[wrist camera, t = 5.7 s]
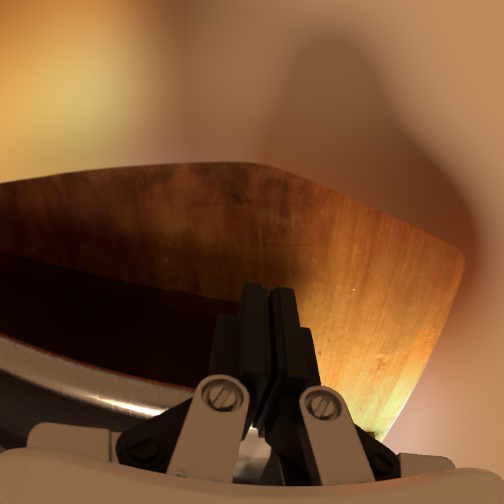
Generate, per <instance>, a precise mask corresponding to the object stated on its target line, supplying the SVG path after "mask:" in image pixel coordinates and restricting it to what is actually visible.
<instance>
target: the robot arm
mask: <svg viewBox="0 0 504 504" xmlns="http://www.w3.org/2000/svg"><path fill="white" fill-rule="evenodd" d="M252 422H253V428H254V429H258V438H265V442H266V443H267V444H268V445H269V446H271V449H270V450H271V458H272V463H273V468H274V473H275V477H276V482H277V486H259V485H244V484H232V480H233V475H234V471H235V466H236V462H237V457H238V453H239V448H240V444H241V442H242V441H243V440H245V438H246V435H247V433H248V431H249V429H250V426H251V424H252ZM0 504H504V480H503V479H502V478H501V477H500V476H498V475H497V474H495V473H493V472H490V471H487V470H483V469H477V468H457V469H456V468H455V466H454V464H453V463H452V461H451V460H449V459H448V458H446V457H442V456H429V455H418V454H408V453H399V454H398V455H395V453H393V452H392V451H391V450H390V449H389V448H387V447H386V446H385V445H383V444H382V443H380V442H379V441H378V440H376V439H375V438H373V437H372V436H371V435H369V434H368V433H367V432H365V431H364V430H362V429H361V428H360V427H358V426H357V425H356V424H354V423H353V420H352V418H351V415H350V413H349V410H348V408H347V405H346V403H345V401H344V399H343V397H342V396H341V395H340V394H339V393H338V392H336V391H335V390H333V389H331V388H329V387H326V386H321V381H320V376H319V371H318V365H317V360H316V355H315V349H314V344H313V339H312V334H311V330H310V329H309V328H305V327H300V322H299V316H298V310H297V304H296V298H295V293H294V289H291V288H286V287H280V286H278V287H277V288H276V290H273V289H271V291H270V293H269V297H268V295H267V288H262V284H261V283H257V282H251V281H246V282H245V285H244V289H243V293H242V297H241V301H240V305H239V310H238V314H237V317H233V316H227V315H221V314H218V317H217V322H216V327H215V332H214V338H213V344H212V351H211V358H210V366H209V373H208V377H206V378H204V379H203V380H202V381H200V383H199V384H198V386H197V388H196V391H195V394H194V396H193V397H191V398H189V399H187V400H185V401H183V402H182V403H180V404H178V405H176V406H174V407H172V408H170V409H168V410H166V411H164V412H162V413H160V414H158V415H156V416H154V417H152V418H150V419H148V420H146V421H144V422H142V423H140V424H138V425H136V426H134V427H131V428H129V429H127V430H126V431H124V432H110V429H104V428H93V427H83V426H74V425H66V424H59V423H52V422H42V423H39V424H37V425H35V426H34V427H33V428H32V429H31V430H30V433H29V435H28V440H27V447H23V448H15V449H10V450H6V451H4V452H2V453H0Z"/></svg>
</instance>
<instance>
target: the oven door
mask: <svg viewBox="0 0 504 504" xmlns="http://www.w3.org/2000/svg"><path fill="white" fill-rule="evenodd" d="M239 305H240V303H236V302H230V301H225V300H219V299H213V298H208V297H202V296H197V295H191V294H186V293H181V292H176V291H171V290H166V289H161V288H156V287H151V286H146V285H141V284H136V283H131V282H127V281H122V280H118V279H113V278H108V277H104V276H100V275H95V274H91V273H86V272H82V271H78V270H74V269H70V268H65V267H61V266H57V265H53V264H49V263H45V262H41V261H37V260H33V259H30V258H26V257H22V256H18V255H14V254H11V253H7V252H3V251H0V453H2V452H4V451H6V450H10V449H15V448H23V447H27V440H28V435H29V433H30V430H31V429H32V428H33V427H34V426H35V425H37V424H39V423H42V422H52V423H59V424H66V425H74V426H83V427H93V428H104V429H110V432H124V431H126V430H127V429H129V428H131V427H134V426H136V425H138V424H140V423H142V422H144V421H146V420H148V419H150V418H152V417H154V416H156V415H158V414H160V413H162V412H164V411H166V410H168V409H170V408H172V407H174V406H176V405H178V404H180V403H182V402H183V401H185V400H187V399H189V398H191V397H193V396H194V394H195V391H196V388H197V386H198V384H199V383H200V381H202V380H203V379H204V378H206V377H208V373H209V366H210V358H211V351H212V344H213V338H214V332H215V327H216V322H217V317H218V314H221V315H227V316H233V317H237V314H238V310H239ZM270 449H271V446H269V445H268V444H267V443H266V442H265V438H258V429H254V428H253V422H252V424H251V426H250V429H249V431H248V433H247V435H246V438H245V440H243V441H242V442H241V444H240V448H239V453H238V457H237V462H236V466H235V471H234V475H233V480H232V484H244V485H259V486H277V482H276V477H275V473H274V468H273V463H272V458H271V450H270Z"/></svg>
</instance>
